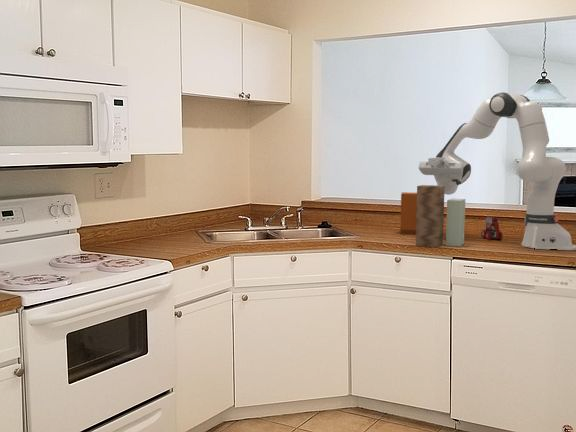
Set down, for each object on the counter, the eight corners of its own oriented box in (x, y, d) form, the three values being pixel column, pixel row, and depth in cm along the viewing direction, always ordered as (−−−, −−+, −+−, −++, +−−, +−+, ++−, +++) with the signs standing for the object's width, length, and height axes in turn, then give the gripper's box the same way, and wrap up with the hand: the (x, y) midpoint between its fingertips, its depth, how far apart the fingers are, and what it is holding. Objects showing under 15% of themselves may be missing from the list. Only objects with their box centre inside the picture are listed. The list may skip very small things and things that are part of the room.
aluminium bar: (444, 164, 315) (444, 157, 315) (435, 165, 297) (435, 158, 297) (438, 163, 316) (438, 157, 316) (428, 165, 298) (428, 158, 298)
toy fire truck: (489, 241, 315) (490, 218, 314) (479, 237, 327) (480, 215, 326) (504, 241, 316) (505, 218, 314) (493, 237, 328) (494, 215, 327)
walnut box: (442, 244, 304) (444, 185, 301) (438, 246, 296) (440, 186, 293) (420, 242, 308) (422, 185, 305) (415, 245, 300) (417, 186, 297)
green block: (463, 243, 306) (465, 199, 304) (459, 246, 297) (461, 200, 295) (450, 242, 309) (451, 198, 307) (445, 245, 300) (447, 200, 298)
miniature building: (419, 234, 335) (420, 194, 333) (400, 234, 337) (401, 193, 335) (419, 232, 345) (420, 192, 343) (401, 231, 347) (401, 192, 344)
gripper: (422, 167, 327) (416, 153, 315) (466, 168, 318) (461, 154, 307) (420, 179, 324) (414, 165, 313) (464, 180, 316) (460, 166, 304)
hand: (438, 160), depth 310 cm, fingers closed on aluminium bar, 3 cm apart
